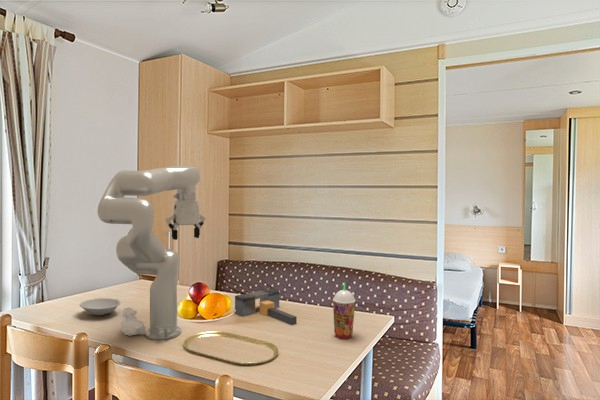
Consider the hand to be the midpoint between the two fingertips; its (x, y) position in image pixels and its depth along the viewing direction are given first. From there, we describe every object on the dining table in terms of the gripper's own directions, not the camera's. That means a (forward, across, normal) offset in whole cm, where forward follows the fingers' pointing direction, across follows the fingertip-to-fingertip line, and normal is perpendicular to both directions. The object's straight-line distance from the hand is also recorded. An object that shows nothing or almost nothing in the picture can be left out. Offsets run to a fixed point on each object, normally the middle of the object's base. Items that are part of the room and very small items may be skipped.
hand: (186, 238), depth 170 cm
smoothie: (+33, +35, -57) cm, 75 cm away
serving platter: (+34, -4, -40) cm, 53 cm away
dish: (+33, -26, +25) cm, 49 cm away
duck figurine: (+33, -24, -5) cm, 41 cm away
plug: (+33, +29, -26) cm, 51 cm away
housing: (+33, +29, -12) cm, 45 cm away
